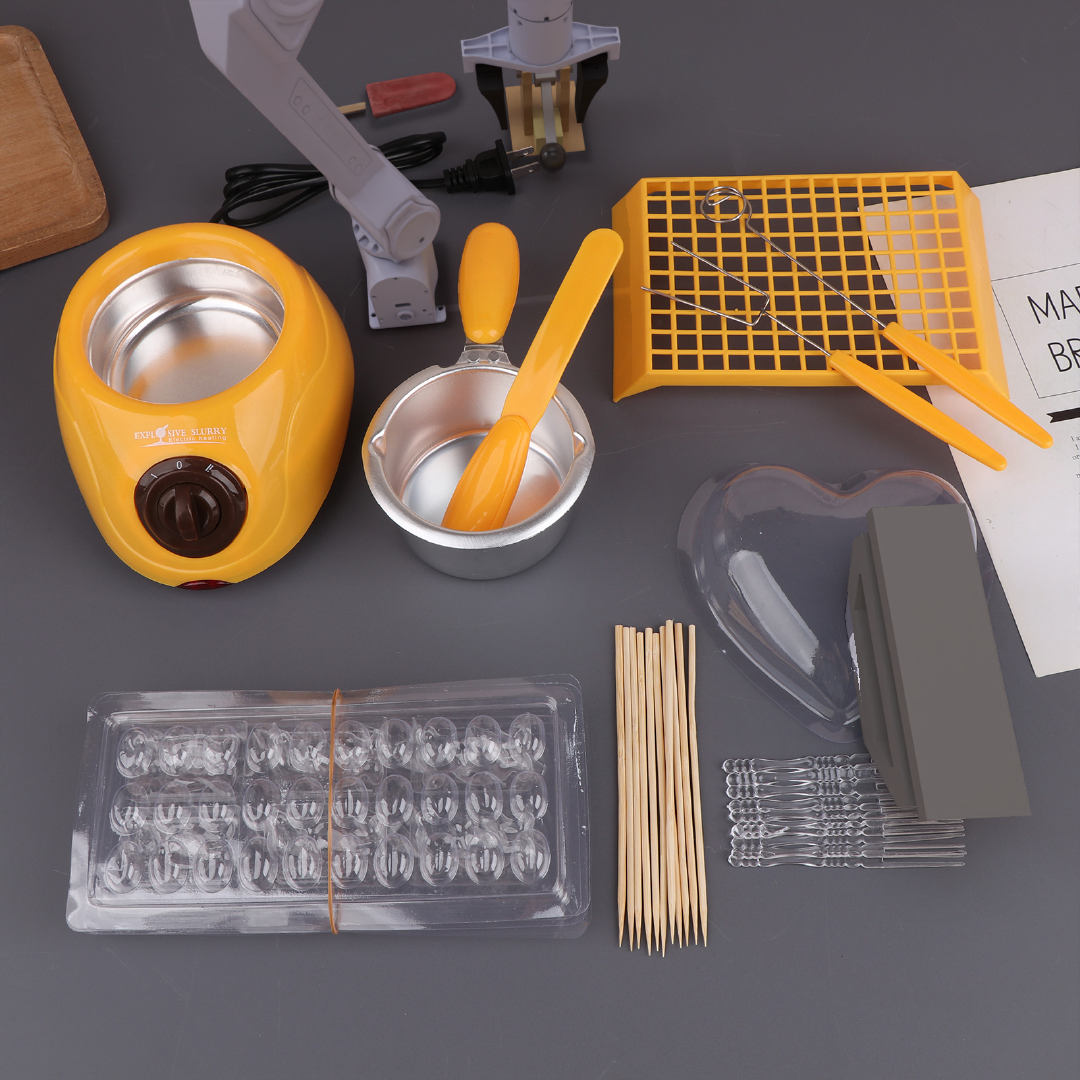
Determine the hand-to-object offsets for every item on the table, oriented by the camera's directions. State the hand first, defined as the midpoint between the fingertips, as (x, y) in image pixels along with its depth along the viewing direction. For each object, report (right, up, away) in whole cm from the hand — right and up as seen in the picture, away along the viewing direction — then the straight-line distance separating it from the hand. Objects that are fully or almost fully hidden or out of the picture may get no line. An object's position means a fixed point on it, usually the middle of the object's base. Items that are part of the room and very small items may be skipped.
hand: (541, 118), depth 90 cm
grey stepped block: (+32, -55, -9) cm, 64 cm away
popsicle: (-17, +7, +13) cm, 23 cm away
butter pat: (+1, +2, +9) cm, 10 cm away
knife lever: (+1, +3, +6) cm, 7 cm away
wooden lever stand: (0, +5, +11) cm, 12 cm away
